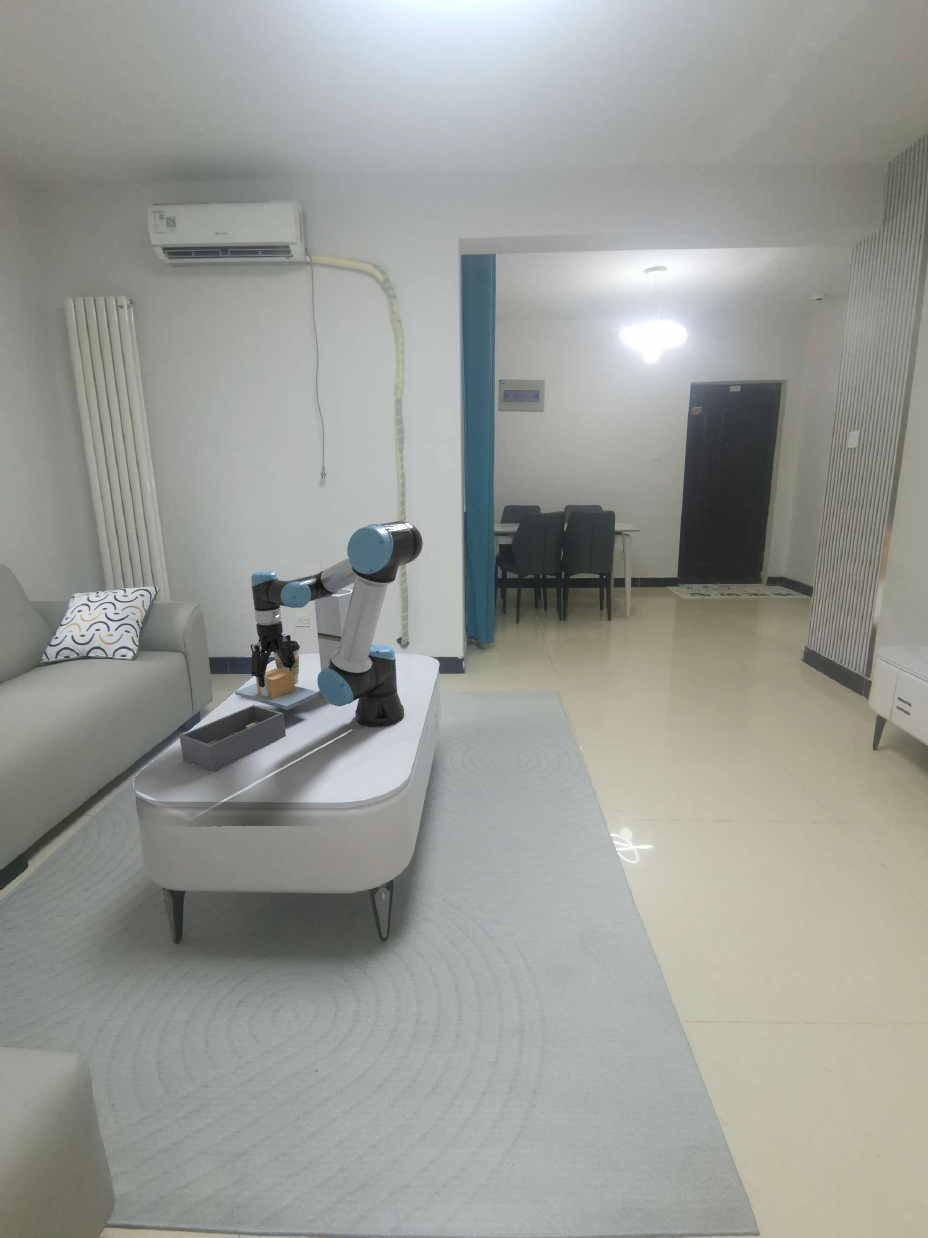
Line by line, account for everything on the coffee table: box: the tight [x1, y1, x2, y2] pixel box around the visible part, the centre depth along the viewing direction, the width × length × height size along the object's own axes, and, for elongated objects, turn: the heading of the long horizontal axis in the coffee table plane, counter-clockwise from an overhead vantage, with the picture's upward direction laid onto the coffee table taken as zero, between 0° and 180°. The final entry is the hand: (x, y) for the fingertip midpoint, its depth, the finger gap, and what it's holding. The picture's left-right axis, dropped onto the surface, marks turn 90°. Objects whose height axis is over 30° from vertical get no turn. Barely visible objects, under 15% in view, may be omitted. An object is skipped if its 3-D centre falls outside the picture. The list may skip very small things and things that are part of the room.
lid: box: [234, 667, 320, 711], centre depth 186 cm, size 13×24×8 cm, turn 58°
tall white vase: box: [313, 588, 353, 672], centre depth 206 cm, size 11×11×35 cm
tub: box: [178, 704, 287, 773], centre depth 164 cm, size 13×24×8 cm, turn 148°
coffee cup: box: [273, 640, 301, 686], centre depth 215 cm, size 10×10×15 cm
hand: (276, 691), depth 187 cm, fingers closed on lid, 8 cm apart
